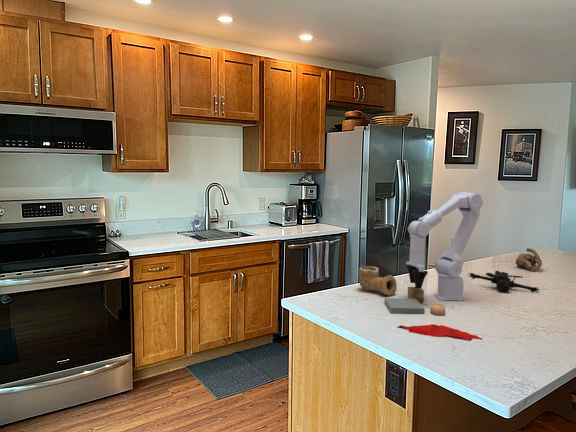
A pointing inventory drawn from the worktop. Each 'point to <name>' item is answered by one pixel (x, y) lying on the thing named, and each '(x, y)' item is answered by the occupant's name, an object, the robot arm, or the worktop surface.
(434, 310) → the terracotta puck
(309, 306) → the worktop surface
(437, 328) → the cloth
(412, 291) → the walnut cube
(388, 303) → the slate base
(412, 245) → the robot arm
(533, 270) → the tan lumpy piece
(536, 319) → the worktop surface
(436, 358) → the worktop surface
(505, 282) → the toy
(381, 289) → the pipe
